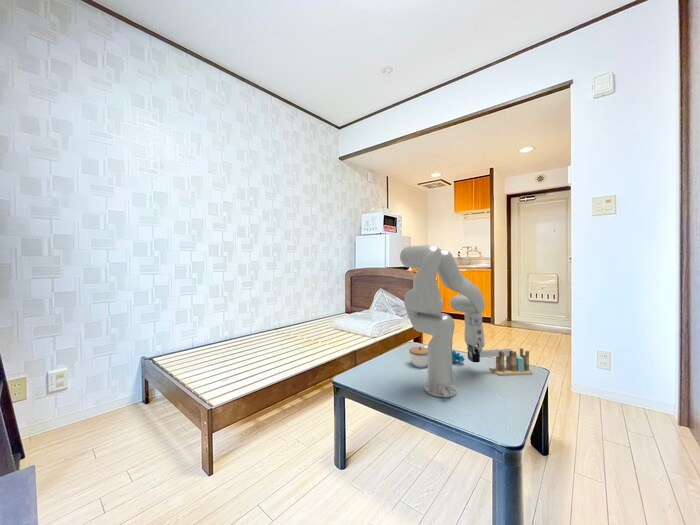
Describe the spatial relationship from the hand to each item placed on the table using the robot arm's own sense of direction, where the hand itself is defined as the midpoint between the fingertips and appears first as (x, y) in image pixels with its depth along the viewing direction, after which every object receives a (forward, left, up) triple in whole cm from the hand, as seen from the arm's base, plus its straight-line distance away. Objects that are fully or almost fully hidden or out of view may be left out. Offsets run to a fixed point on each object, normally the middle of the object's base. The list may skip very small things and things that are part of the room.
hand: (473, 360), depth 133 cm
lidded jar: (+13, +21, -7) cm, 26 cm away
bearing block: (0, -18, -6) cm, 19 cm away
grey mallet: (0, -8, 0) cm, 9 cm away
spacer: (0, -22, -2) cm, 22 cm away
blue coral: (+15, +3, -7) cm, 16 cm away
